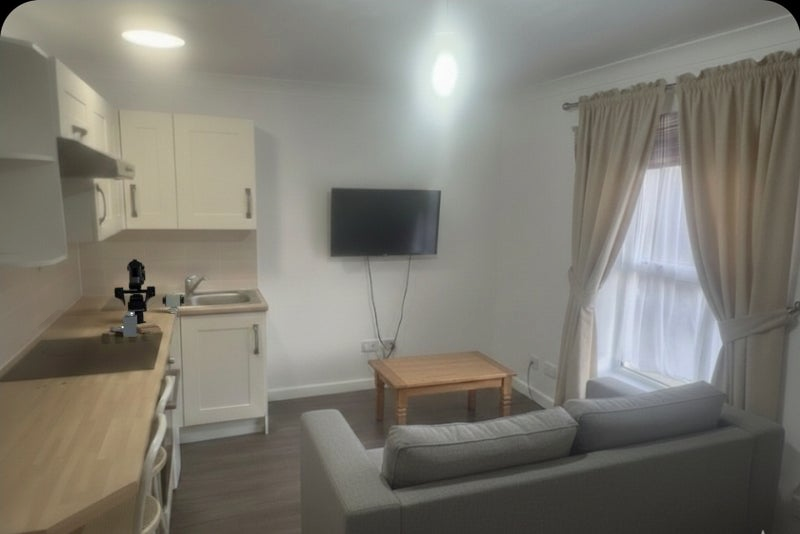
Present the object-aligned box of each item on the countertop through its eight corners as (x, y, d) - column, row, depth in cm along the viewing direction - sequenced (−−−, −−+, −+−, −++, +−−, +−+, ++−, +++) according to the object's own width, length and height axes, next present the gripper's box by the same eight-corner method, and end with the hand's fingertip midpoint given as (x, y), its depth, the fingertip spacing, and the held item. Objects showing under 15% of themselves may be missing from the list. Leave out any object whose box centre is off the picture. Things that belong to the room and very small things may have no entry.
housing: (124, 334, 253) (124, 311, 252) (137, 334, 255) (136, 310, 254) (123, 337, 249) (122, 313, 248) (136, 336, 251) (135, 312, 250)
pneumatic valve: (183, 313, 305) (183, 293, 303) (162, 314, 301) (162, 294, 300) (185, 311, 310) (184, 292, 308) (164, 312, 307) (163, 292, 305)
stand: (136, 330, 263) (136, 326, 263) (155, 328, 269) (155, 324, 269) (141, 333, 256) (141, 330, 256) (160, 331, 262) (160, 327, 262)
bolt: (108, 332, 257) (108, 325, 257) (113, 330, 261) (113, 323, 260) (121, 333, 256) (121, 326, 256) (126, 331, 260) (126, 324, 259)
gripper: (114, 271, 258) (112, 295, 249) (154, 270, 266) (155, 293, 257) (115, 285, 266) (114, 309, 256) (155, 284, 274) (155, 307, 264)
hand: (135, 304), depth 258 cm, fingers open, 9 cm apart
